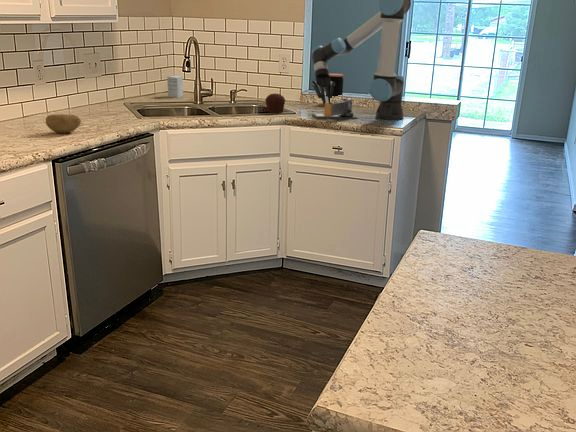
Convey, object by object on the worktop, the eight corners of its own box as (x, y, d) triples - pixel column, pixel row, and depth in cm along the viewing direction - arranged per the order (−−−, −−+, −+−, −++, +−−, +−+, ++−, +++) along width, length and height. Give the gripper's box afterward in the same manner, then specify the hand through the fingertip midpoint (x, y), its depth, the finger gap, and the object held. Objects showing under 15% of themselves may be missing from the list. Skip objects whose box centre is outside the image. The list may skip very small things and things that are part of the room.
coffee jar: (341, 102, 370) (343, 74, 364) (341, 105, 360) (343, 75, 354) (325, 102, 371) (326, 73, 365) (324, 104, 361) (326, 74, 355)
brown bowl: (82, 134, 246) (81, 115, 244) (47, 135, 241) (45, 116, 238) (80, 130, 255) (79, 111, 252) (46, 131, 249) (44, 112, 247)
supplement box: (173, 95, 374) (172, 75, 370) (183, 96, 372) (182, 76, 368) (167, 96, 367) (166, 76, 363) (177, 97, 365) (177, 77, 361)
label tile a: (335, 115, 318) (335, 113, 317) (340, 119, 309) (340, 116, 308) (324, 115, 317) (324, 113, 316) (329, 118, 307) (329, 116, 307)
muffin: (289, 112, 324) (290, 94, 321) (275, 114, 316) (276, 95, 313) (274, 109, 331) (274, 92, 328) (260, 111, 324) (260, 93, 320)
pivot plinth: (352, 116, 319) (352, 111, 318) (357, 118, 311) (357, 114, 310) (336, 116, 317) (336, 111, 317) (341, 118, 309) (341, 113, 308)
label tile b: (323, 115, 316) (323, 113, 316) (327, 118, 307) (327, 116, 307) (312, 115, 315) (312, 113, 315) (316, 118, 306) (316, 116, 306)
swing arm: (345, 111, 317) (346, 98, 314) (353, 112, 314) (354, 98, 312) (322, 115, 298) (323, 101, 296) (331, 117, 296) (332, 102, 293)
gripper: (331, 76, 316) (337, 112, 306) (308, 76, 313) (313, 112, 303) (334, 67, 309) (341, 104, 299) (311, 67, 307) (316, 103, 297)
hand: (327, 108), depth 301 cm, fingers closed
